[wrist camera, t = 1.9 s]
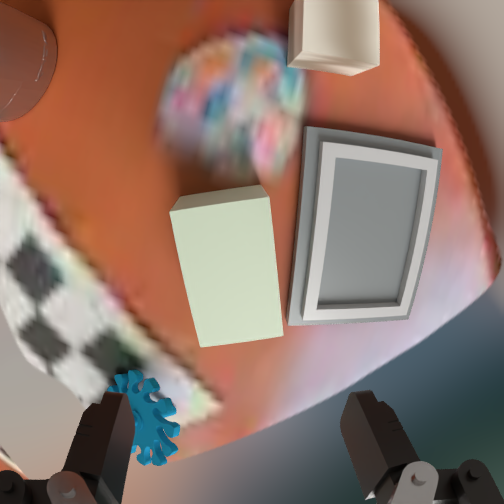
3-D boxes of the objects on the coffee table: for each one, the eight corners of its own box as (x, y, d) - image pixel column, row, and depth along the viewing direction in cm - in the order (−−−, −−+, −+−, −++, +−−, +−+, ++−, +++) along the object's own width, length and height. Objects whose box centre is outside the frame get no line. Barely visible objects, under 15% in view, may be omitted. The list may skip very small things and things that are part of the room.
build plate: (285, 319, 28) (289, 330, 26) (304, 126, 22) (310, 126, 20) (403, 314, 29) (412, 323, 27) (436, 148, 23) (448, 150, 22)
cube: (286, 66, 21) (302, 50, 16) (289, 9, 19) (304, -17, 14) (350, 76, 21) (379, 65, 16) (351, 20, 19) (378, 0, 15)
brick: (273, 302, 27) (283, 335, 23) (203, 311, 27) (200, 347, 22) (260, 184, 24) (269, 196, 19) (180, 196, 24) (169, 211, 19)
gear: (139, 353, 26) (187, 458, 22) (182, 349, 31) (227, 438, 27) (87, 393, 29) (122, 476, 25) (126, 387, 35) (160, 461, 30)
